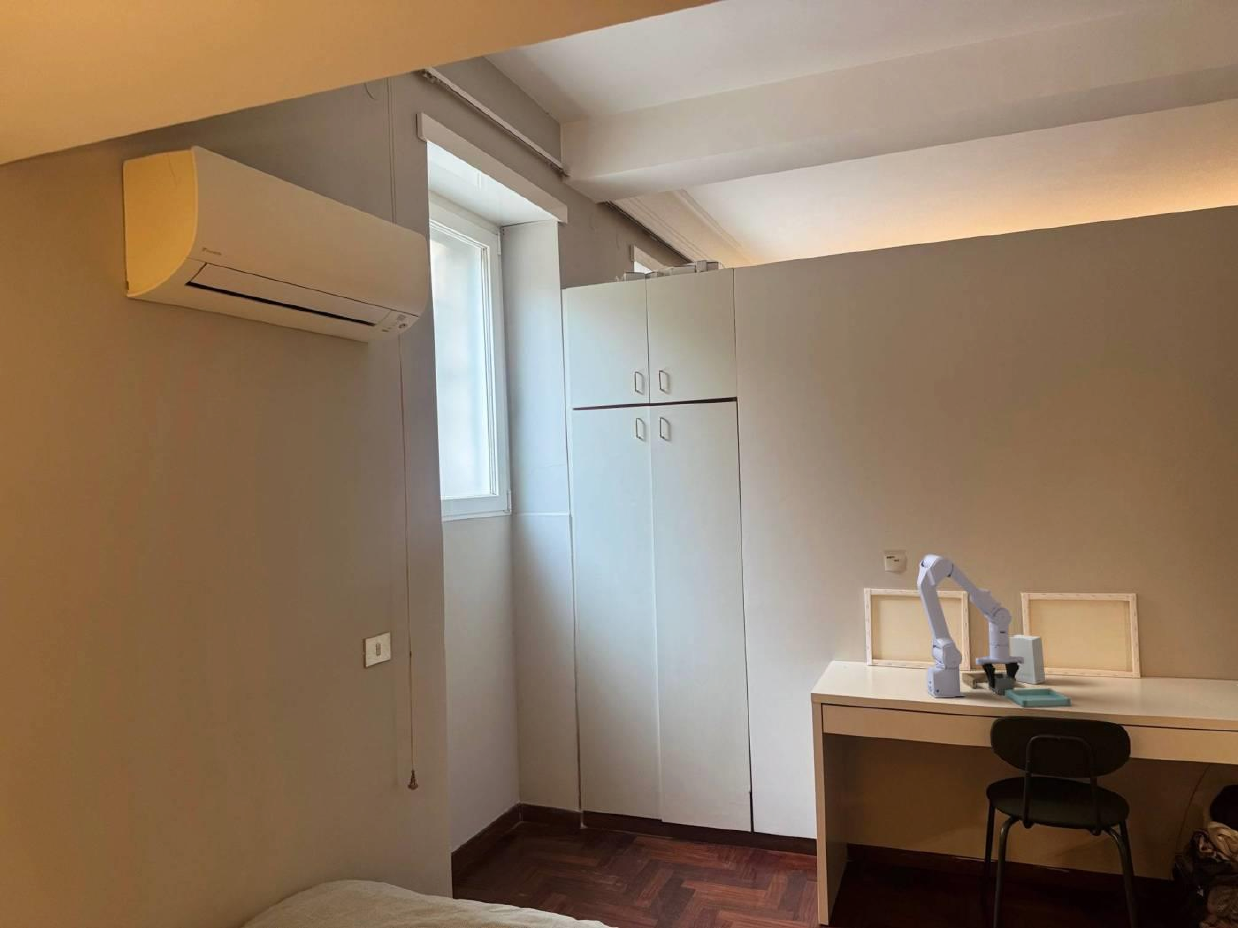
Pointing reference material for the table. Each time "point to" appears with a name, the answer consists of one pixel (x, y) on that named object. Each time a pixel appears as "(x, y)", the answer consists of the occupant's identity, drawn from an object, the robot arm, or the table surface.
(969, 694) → the table surface
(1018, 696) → the tray
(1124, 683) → the table surface
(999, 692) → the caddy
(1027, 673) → the skincare box
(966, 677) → the bay
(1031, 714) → the table surface
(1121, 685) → the table surface
